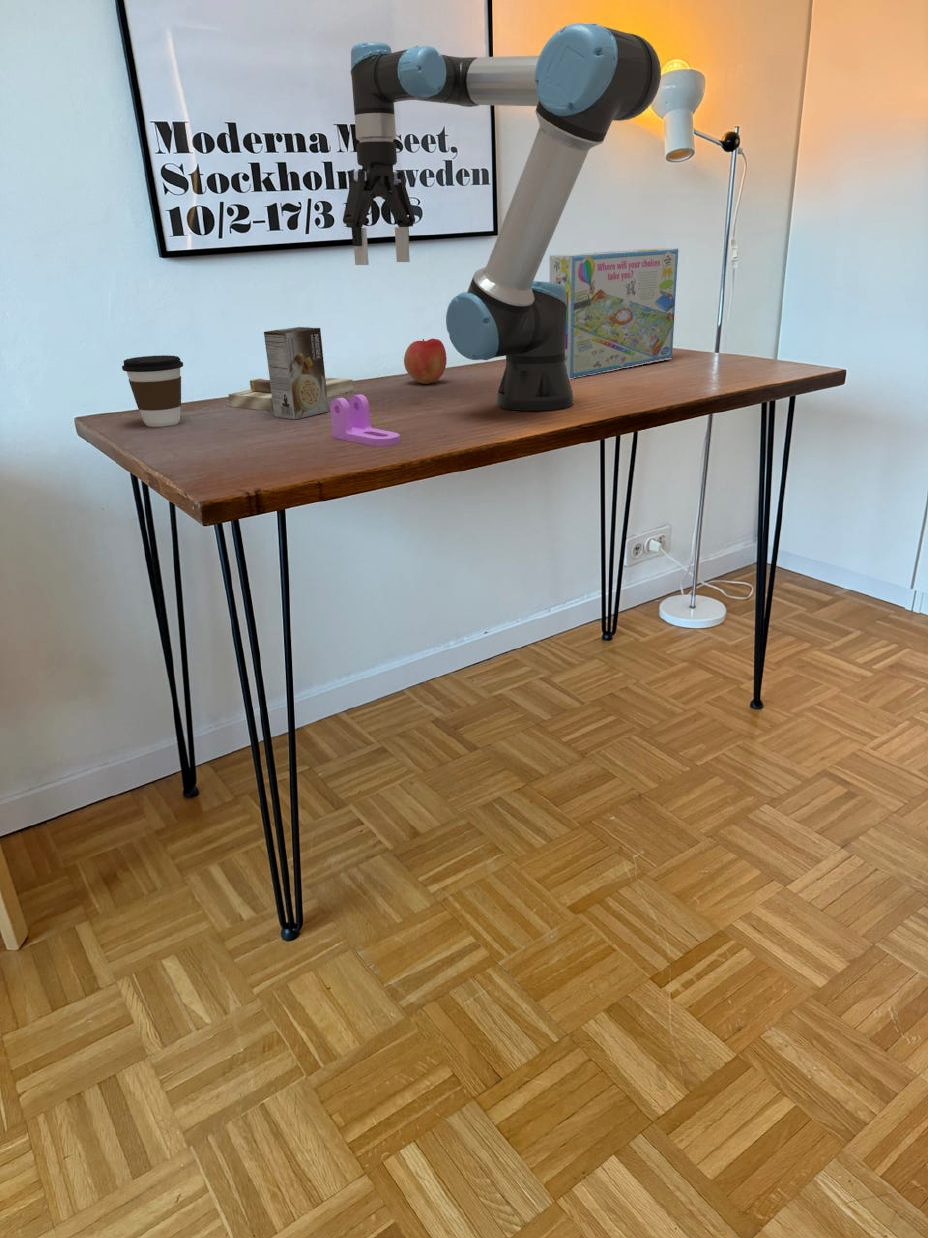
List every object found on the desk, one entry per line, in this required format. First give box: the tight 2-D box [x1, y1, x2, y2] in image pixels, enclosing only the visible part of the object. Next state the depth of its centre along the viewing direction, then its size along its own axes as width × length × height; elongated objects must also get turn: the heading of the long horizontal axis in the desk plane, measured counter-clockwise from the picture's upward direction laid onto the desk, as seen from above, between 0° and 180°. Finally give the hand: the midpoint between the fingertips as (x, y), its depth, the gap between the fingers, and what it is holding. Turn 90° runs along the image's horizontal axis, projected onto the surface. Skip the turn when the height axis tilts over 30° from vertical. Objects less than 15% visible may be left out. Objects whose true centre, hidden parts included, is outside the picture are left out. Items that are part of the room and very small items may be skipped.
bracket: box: [329, 393, 401, 448], centre depth 146 cm, size 13×6×7 cm, turn 46°
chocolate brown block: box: [249, 378, 271, 392], centre depth 179 cm, size 14×6×7 cm, turn 58°
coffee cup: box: [121, 354, 184, 428], centre depth 163 cm, size 11×11×12 cm
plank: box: [228, 377, 354, 412], centre depth 187 cm, size 12×26×3 cm, turn 148°
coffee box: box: [263, 326, 330, 421], centre depth 167 cm, size 9×6×16 cm
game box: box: [549, 247, 679, 378], centre depth 210 cm, size 40×7×27 cm, turn 132°
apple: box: [403, 338, 447, 385], centre depth 200 cm, size 10×10×10 cm
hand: (383, 263), depth 171 cm, fingers open, 13 cm apart
